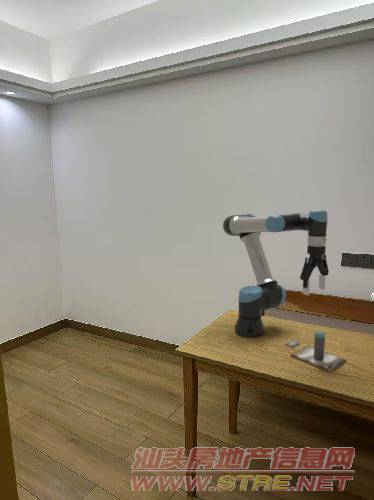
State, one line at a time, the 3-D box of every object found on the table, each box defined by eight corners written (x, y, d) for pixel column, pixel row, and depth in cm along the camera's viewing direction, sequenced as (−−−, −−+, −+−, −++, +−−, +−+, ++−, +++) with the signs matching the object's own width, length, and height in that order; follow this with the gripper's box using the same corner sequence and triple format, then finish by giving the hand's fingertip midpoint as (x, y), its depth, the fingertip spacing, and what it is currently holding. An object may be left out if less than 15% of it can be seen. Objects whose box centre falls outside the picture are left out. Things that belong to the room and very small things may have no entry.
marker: (311, 360, 141) (313, 333, 139) (316, 357, 144) (317, 330, 142) (320, 364, 138) (322, 336, 136) (325, 361, 141) (326, 333, 139)
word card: (285, 344, 158) (285, 343, 158) (292, 340, 162) (292, 339, 162) (292, 347, 155) (292, 346, 155) (299, 343, 159) (300, 342, 159)
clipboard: (290, 356, 147) (290, 352, 147) (307, 346, 156) (307, 343, 155) (329, 372, 133) (330, 368, 133) (346, 361, 142) (346, 357, 142)
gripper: (309, 249, 137) (306, 299, 140) (338, 243, 152) (335, 288, 156) (293, 247, 142) (290, 295, 146) (323, 241, 158) (320, 284, 162)
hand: (313, 291), depth 151 cm, fingers open, 13 cm apart
